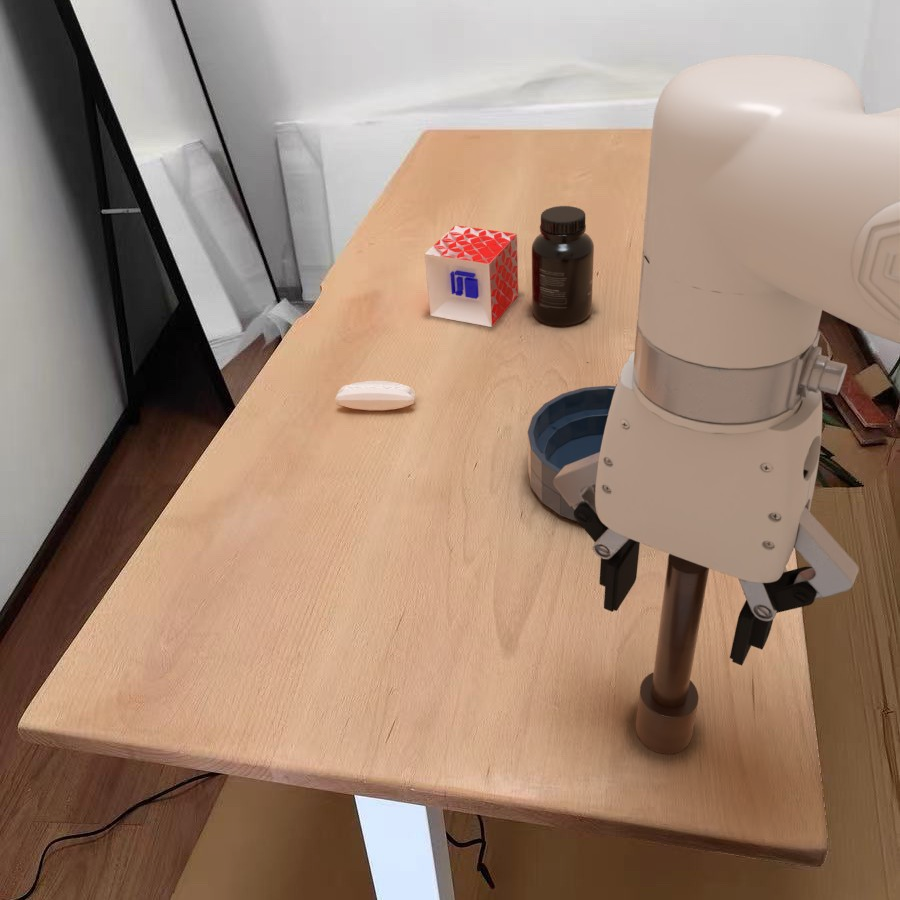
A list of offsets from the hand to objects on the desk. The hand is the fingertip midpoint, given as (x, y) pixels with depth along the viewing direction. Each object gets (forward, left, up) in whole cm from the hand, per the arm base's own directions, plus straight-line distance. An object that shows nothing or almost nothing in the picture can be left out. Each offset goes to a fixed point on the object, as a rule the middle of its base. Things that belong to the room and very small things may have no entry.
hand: (680, 618), depth 50 cm
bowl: (+14, -21, -11) cm, 28 cm away
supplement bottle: (+31, -45, -11) cm, 56 cm away
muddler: (0, 0, -11) cm, 11 cm away
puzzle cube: (+41, -42, -11) cm, 60 cm away
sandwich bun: (+39, -20, -11) cm, 45 cm away
